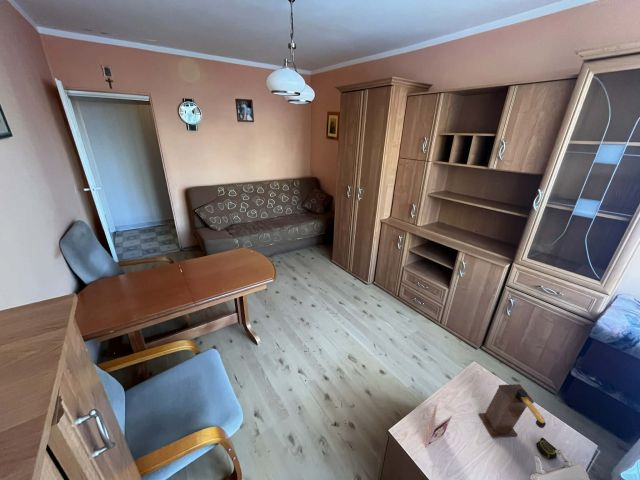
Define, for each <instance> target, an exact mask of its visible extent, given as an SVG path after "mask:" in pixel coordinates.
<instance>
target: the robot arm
mask: <svg viewBox="0 0 640 480" xmlns="http://www.w3.org/2000/svg"><path fill="white" fill-rule="evenodd" d="M555 452H556V454H557V457H558V458H560V459H561V460H563V461H562V464H563V465H560V466H556V467H552V468H550V469H546V470H545V469H543V463H544V461H543V459H542V457H541V456H540V455H534V456H533V459H534V461H535V470H536V473H532V474H530V480H591V479H590V476H589V475H588V473H587V472H588V471H586V469H585V467H584V466H583V465H582V464H581V463H577V462H572V461H571V460H570V459H569V458H568V457H567V456H566V455H565V454H564V452H563V450H562V449H557V450H555Z"/></svg>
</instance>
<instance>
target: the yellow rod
mask: <svg viewBox="0 0 640 480" xmlns="http://www.w3.org/2000/svg"><path fill="white" fill-rule="evenodd" d="M523 389H524V388H523ZM523 389H519V390H518V391H517V393H516V397H517V398H518V399H519V400H521V401H523V402H524V403H525V404H526V406H527V407H526V408H527V409H528V410H529V411H530V412H531V413H532V415H533V417H535V419H536V421H535V425H536V426H537V427H538V428H540V429H544V428H545V427H546V426H547V423H546V420H545V418H544V417H543V415H542V414H541V413H540V412H539V410H538V409H537V408H536V407H535V405H534V403H531V402H530V400H529V399H528V398H527V395H529V394H528V392H527V391H526V390H525V389H524V390H523Z"/></svg>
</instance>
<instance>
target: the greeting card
mask: <svg viewBox="0 0 640 480" xmlns="http://www.w3.org/2000/svg"><path fill="white" fill-rule="evenodd" d="M437 406H438V404H437V403H436V405H435V407H434V410H433V412H432V415H431V417H430V418H429V419H430V420H429V422H428V427H427V434H426V441H425V447H424V448H428V447H429V446H431V445H432V444H433V443H435V442H436V441H438V440H439V439H440V438H442V437H443V436H444V435H445V433H446V431H447V428H448V426H449V424H450V423H451V420H452V418H453V415H450V416H449V417H447V418H446V419H445V420H442V421H441V422H440V423H438V424H437V425H435V422H436V415H437Z"/></svg>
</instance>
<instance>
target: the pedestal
mask: <svg viewBox="0 0 640 480" xmlns="http://www.w3.org/2000/svg"><path fill="white" fill-rule="evenodd" d="M519 389H523V390H525V389H524V387H523V386H522V385H521V384H520V383H518V384H517V383H516V384H499V385H498V388H497V390H496V391H495V394H494V395H493V397H492V399H491V400H490V403H489V404H488V407H487V408H486V410H485V412H482V413H481V412H480V413H479V414H478V417H479V419H480V421H481V422H482V424H483V426H484V428H485V429H486V431H487V433H488V434H489V436H490V437H491V439H503V438H517V437H518V433H517V431H516V430H515V429H514V427H515V426H516V425H517V423H518V421H519V420H520V418H521V416H522V415H523V413H524V412H525V410H526V409H527V408H528V407H527V406H526V404H525V403H524V402H523V401H521V400H519V399H518V398H517V397H516V393H517V391H518V390H519ZM527 398H528V399H529V400H530V402H531V403H532V404H534V403H535V401H534V399H532V397H531V396H530V395H529V394H528V395H527Z"/></svg>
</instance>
